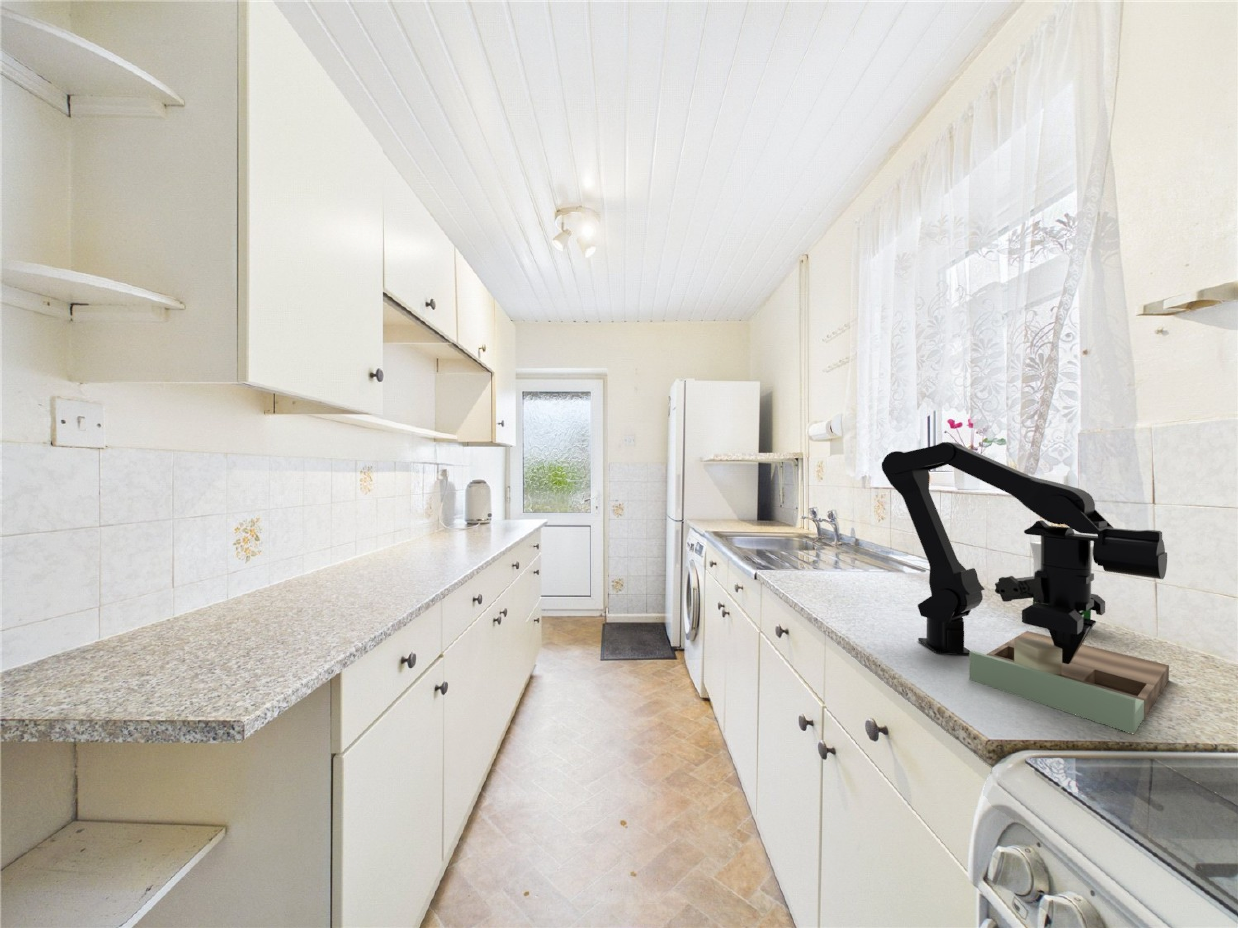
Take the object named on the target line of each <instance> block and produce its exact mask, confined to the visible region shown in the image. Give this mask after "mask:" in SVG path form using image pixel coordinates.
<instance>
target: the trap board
mask: <svg viewBox="0 0 1238 928" xmlns="http://www.w3.org/2000/svg"><path fill="white" fill-rule="evenodd" d="M1014 639H1039V640H1042V641H1044V642H1047V643H1049V644H1051V645H1054V643H1053V640H1052V637H1051V635H1050V636H1049V635H1045V634H1041V633H1038V632H1033V631H1029V630H1026V631H1025V632H1022V633H1021V634H1019V635H1018V636H1015V637H1014V638H1012V639H1011V640H1009V641H1007V642H1005V643H1003V644H1001V645H1000V646H998V647H997V648H995V649H993V650H991V651H989V652H988V653H985V654H986V655H989V656H993V657H996V658H1000V659H1003V660H1006V661H1010V662H1013V663H1014ZM1169 672H1170V665H1169V664H1166V663H1162V662H1159V661H1153V660H1150V659H1145V658H1141V657H1138V656H1132V655H1129V654H1124V653H1120V652H1117V651H1112V650H1108V649H1103V648H1100V647H1095V646H1091V645H1087V644H1082V645H1081V647H1080V648H1079V650H1078V651H1077V653H1076V655H1075V656H1074V658H1073V659H1072V661H1071V663H1070V664H1065V663H1062V674H1054V675H1058V676H1061V677H1065V678H1068V679H1072V680H1075V681H1078V682H1082V683H1085V684H1089V685H1092V686H1095V687H1099V688H1102V689H1106V690H1109V691H1113V692H1116V693H1119V694H1123V695H1126V696H1130V697H1133V698H1137V699H1140V700H1143V701H1144V717H1145V718H1146V716H1147V715H1148V713H1149V712H1150V710H1151V708H1152V707H1153V705H1154V704H1155V702H1156V701H1157V699H1158V698H1159V696H1160V694H1161V693H1162V691H1163V690H1164V688H1165V687H1166V685H1167V684H1168V682H1169V681H1170V673H1169ZM1146 714H1147V715H1146Z"/></svg>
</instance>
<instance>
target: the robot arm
mask: <svg viewBox="0 0 1238 928" xmlns="http://www.w3.org/2000/svg"><path fill="white" fill-rule="evenodd" d="M944 466H949V467H950V466H951V467H952V468H955V469H956V470H958V471H961V472H963V473H965V474H967V475H969V476H971V477H974V478H976V479H977V480H979V481H981V482H984V483H986V484H987V485H990V486H993V487H994V488H997V489H999V490H1001V491H1003V492H1005V493H1008V494H1009V495H1011V496H1012V497H1013V498H1015V499H1016V500H1018V501H1019V502H1020V503H1021V504H1022V505H1023V506H1025V508H1026V509H1028V510H1030V511H1031V512H1033V513H1034V514H1036V515H1037V516H1039V517H1040V518H1042V520H1036V521H1035V523H1034V524H1033V525H1031V526H1030V527H1028V528H1026V529H1024V530H1023V533H1024V534H1025V535H1031V536H1040V541H1041V569H1039V570H1037V571H1036V572H1035V573H1034V576H1023V577H1017V578H1016V577H1014V576H1013V575H1010V576H1001V577H998V581H997V582H995V583H994V585H995V589H994V592H995V593H996V594H998V595H999V596H1000V598H1001V600H1002V602H1013V600H1014V601H1015V600H1024V599H1025V600H1026V599H1032V604H1030V605H1029V606H1027V607H1026V608H1024V609H1022V610H1021V623H1023V624H1025V625H1030V626H1034V627H1036V628H1037V627H1038V628H1043V629H1045V630H1048V633H1049V634H1050V637H1052V640H1053V643H1054V646H1056V647H1059V648H1061V649H1062V663H1065V664H1070V663H1071V661H1072V659H1073V658H1074V656H1075V655H1076V653H1077V651H1078V650H1079V648H1080V647H1081V645H1082V644H1083V643H1084V642H1085V641H1086V639H1087V637H1088V636H1089V634H1090V633H1091V631H1092V629H1093V628H1094V626H1095V625H1096V623H1097V621H1096V620H1095V619H1086V618H1083V616H1084V614H1083V613H1081V612H1082V611H1087V610H1091V611H1095V614H1096V615H1098V616H1103V615H1105V614H1106V600H1104V599H1103V598H1102V597H1101V596H1099V594H1095V593H1092V582H1093V581H1094V580H1095V573H1092V567H1091V546H1093V557H1092V560H1093V562H1094V564H1097V566H1098V567H1102V568H1103V570H1104V572H1106V573H1114V574H1121V575H1122V574H1123V575H1130V576H1135V577H1144V578H1150V579H1157V580H1164V578H1165V576H1166V573H1167V567H1168V552H1166V549H1165V548H1166V547H1165V542H1164V540H1163V531H1161V530H1157V529H1156V530H1155V529H1141V530H1136V529H1124V528H1116V527H1115V528H1114V527H1113V525H1112V524H1111V523H1110V522H1108V520H1107V519H1105V517H1103V515H1101V513H1100V512H1099V511H1098V510H1097V509H1096V503H1095V501H1094V498H1093V496H1092V495H1091V493H1089V492H1087V491H1086V490H1084V489H1081V488H1079V487H1074V486H1071V485H1067V484H1064V483H1060V482H1055V481H1051V480H1047V479H1043V478H1039V477H1035V476H1031V475H1029V474H1027V473H1024V472H1022V471H1020V470H1017V469H1014V468H1012V467H1011V466H1009V465H1006V464H1004V463H1001V462H998V461H996V460H994V459H992V458H990V457H988V456H986V455H983V454H980V453H978V452H976V451H974V450H971V449H970V448H967V447H965V446H963V444H961V443H959V442H952V441H950V442H949V441H944V442H943V441H942V442H940V443H937V444H934V445H931V446H928V447H927V446H926V447H924V448H923V447H922V448H918V449H914V450H910V451H902V450H901V451H899V450H895V451H892V452H891V451H890V452H889V453H887V454H886V456H885V457H884V458H883V461H882V462H881V470H882V472H883V474H884V475H885V477H886V479H887V481H888V482H889V484H890V485H891V486H892V487H893V488H894V490H896V491H897V492H898V494H900V496H902V498H903V501H904V503H905V507H906V509H907V511H908V514H909V516H910V519H911V521H912V524H913V526H914V529H915V531H916V534H917V537H918V539H919V541H920V545H921V546H922V549H923V552H924V554H925V556H926V559H927V562H928V565H929V576H928V578H929V580H928V584H929V589H930V594H931V596H929V597H927V598H926V599H924V600H923V601H921V602H919V603H918V604H917V609H918V612H919V614H920V617H923V618H926V637H918V638H917V640H918V642H920V643H921V644H923V645H924V646H925V647H927V648H928V649H929V650H931V651H932V652H934V653H936V654H942V655H943V654H944V655H945V654H947V655H961V656H962V655H966V656H969V653H970V651H971V650H969V649H968V648H966V647H965V621H964V618H965V617H967V616H969V615H970V614H971V613H970V612H971V611H972V610H974V609H976V608H978V607H979V606H980V604H981V603H982V601H983V599H984V598H983V597H984V596H983V591H985V588H984V586H982V583H981V582H980V580H979V578H978V574H977V570H976V569H975V568H974V567H972V568H968V569H966V568H965V566H964V565H963V564H962V563H961V562H959V560H958V558H957V555H956V553H955V551H954V548H953V546H952V543H951V541H950V538H949V536H948V533H947V531H946V528H945V526H944V524H943V521H942V520H941V517H940V515H939V512H938V509H937V507H936V505H935V502H934V500H933V498H932V495H931V491H930V478H931V476H930V471H931V470H932V471H933V470H935V469H938V468H941V467H944ZM1044 520H1045V521H1047V522H1048V523H1051V524H1054V525H1049V524H1048V523H1046V522H1045V521H1044ZM1055 525H1065V526H1055ZM1075 532H1078V533H1075ZM1092 542H1093V545H1091V544H1092ZM1033 602H1036V603H1034V604H1033ZM1042 603H1046V604H1042ZM963 617H964V618H963Z"/></svg>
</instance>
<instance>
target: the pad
mask: <svg viewBox="0 0 1238 928" xmlns="http://www.w3.org/2000/svg"><path fill="white" fill-rule="evenodd" d="M986 654H987V653H982V652H978V651H975V650H970V653H969V655H968V656H969V658H968V659H969V662H968V663H969V664H968V666H969V667H968V670H969V672H968V675H969V676H968V680H971V681H973V682H977V683H979V684H982V685H986V686H988V687H991V686H992V687H991V688H993V689H994V688H995V689H996V690H1001V691H1003V690H1004V691H1003V692H1007V693H1009V694H1012V695H1014V696H1018V697H1021V698H1024V699H1027V700H1030V701H1032V700H1033V702H1035V701H1036V702H1035V703H1038V702H1039V704H1041V705H1045V706H1047V705H1048V707H1050V708H1054V709H1057V710H1059V711H1063V712H1066V713H1068V714H1070V715H1074V714H1076V715H1075V716H1077V715H1078V716H1077V717H1080V716H1081V717H1080V718H1083V719H1086V718H1087V719H1086V720H1088V719H1091V720H1093V721H1092V722H1094V721H1095V722H1094V723H1098V724H1100V723H1102V724H1101V725H1103V724H1106V725H1108V726H1107V727H1109V726H1110V728H1112V727H1113V728H1112V729H1115V728H1118V729H1120V730H1119V731H1121V730H1123V731H1122V732H1124V731H1125V732H1124V733H1127V732H1129V733H1128V734H1130V733H1134V732H1135V731H1136V732H1137V730H1138V728H1139V727H1140V725H1141V724H1140V723H1142V722H1143V721H1144V719H1145V718H1144V701H1143V700H1140V699H1137V698H1133V697H1130V696H1126V695H1123V694H1119V693H1116V692H1113V691H1109V690H1106V689H1102V688H1099V687H1095V686H1092V685H1089V684H1085V683H1082V682H1078V681H1075V680H1072V679H1068V678H1065V677H1061V676H1058V675H1054V674H1051V673H1047V672H1044V671H1040V670H1037V669H1033V668H1030V667H1027V666H1023V665H1020V664H1016V663H1013V662H1010V661H1006V660H1003V659H1000V658H996V657H993V656H989V655H986ZM1091 720H1090V721H1091ZM1142 720H1143V721H1142ZM1106 725H1105V726H1106ZM1138 726H1139V727H1138ZM1118 729H1117V730H1118ZM1136 729H1137V730H1136ZM1136 732H1135V733H1136ZM1135 733H1134V734H1135Z"/></svg>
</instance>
